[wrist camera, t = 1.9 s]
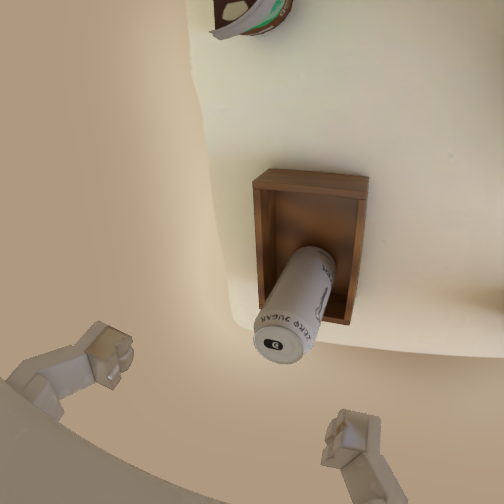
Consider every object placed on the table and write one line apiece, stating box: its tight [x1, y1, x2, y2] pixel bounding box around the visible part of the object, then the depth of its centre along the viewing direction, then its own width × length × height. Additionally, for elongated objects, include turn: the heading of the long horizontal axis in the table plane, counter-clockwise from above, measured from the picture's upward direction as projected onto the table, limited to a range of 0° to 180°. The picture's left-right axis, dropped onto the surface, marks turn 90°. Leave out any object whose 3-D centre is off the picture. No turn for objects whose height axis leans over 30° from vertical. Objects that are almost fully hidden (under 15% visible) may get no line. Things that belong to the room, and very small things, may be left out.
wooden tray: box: [252, 169, 369, 325], centre depth 37 cm, size 17×12×6 cm
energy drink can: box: [253, 246, 336, 364], centre depth 34 cm, size 6×6×15 cm
